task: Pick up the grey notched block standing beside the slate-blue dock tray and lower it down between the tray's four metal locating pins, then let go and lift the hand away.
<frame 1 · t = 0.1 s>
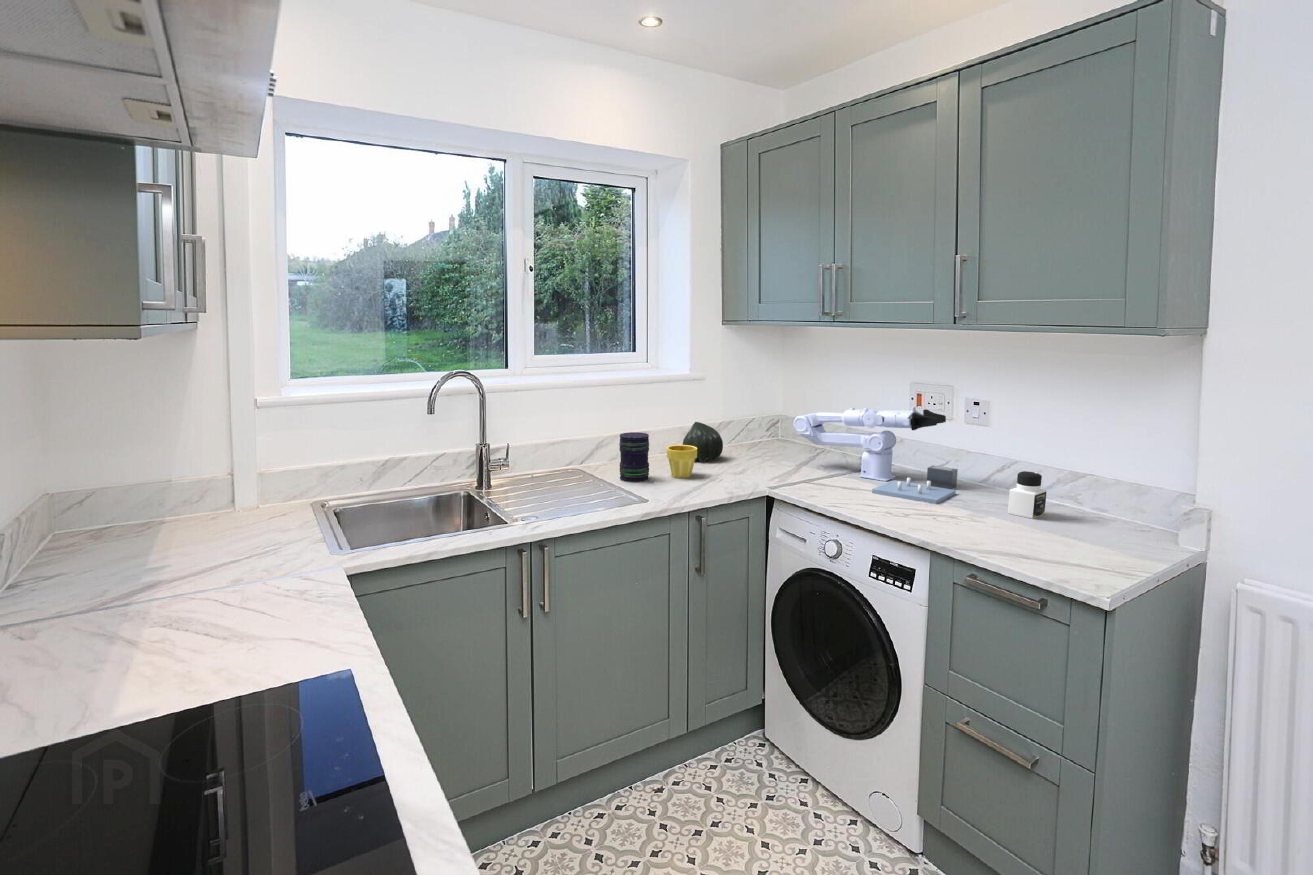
hand: (940, 420, 238), 22 cm above the worktop, tool horizontal, fingers open, 7 cm apart
medicine bottle: (1025, 514, 211), on the worktop
plant pot: (681, 476, 256), on the worktop
storage jar: (634, 479, 252), on the worktop
dock tray: (913, 493, 234), on the worktop
grey notched block: (941, 486, 243), on the worktop
squash: (702, 460, 283), on the worktop
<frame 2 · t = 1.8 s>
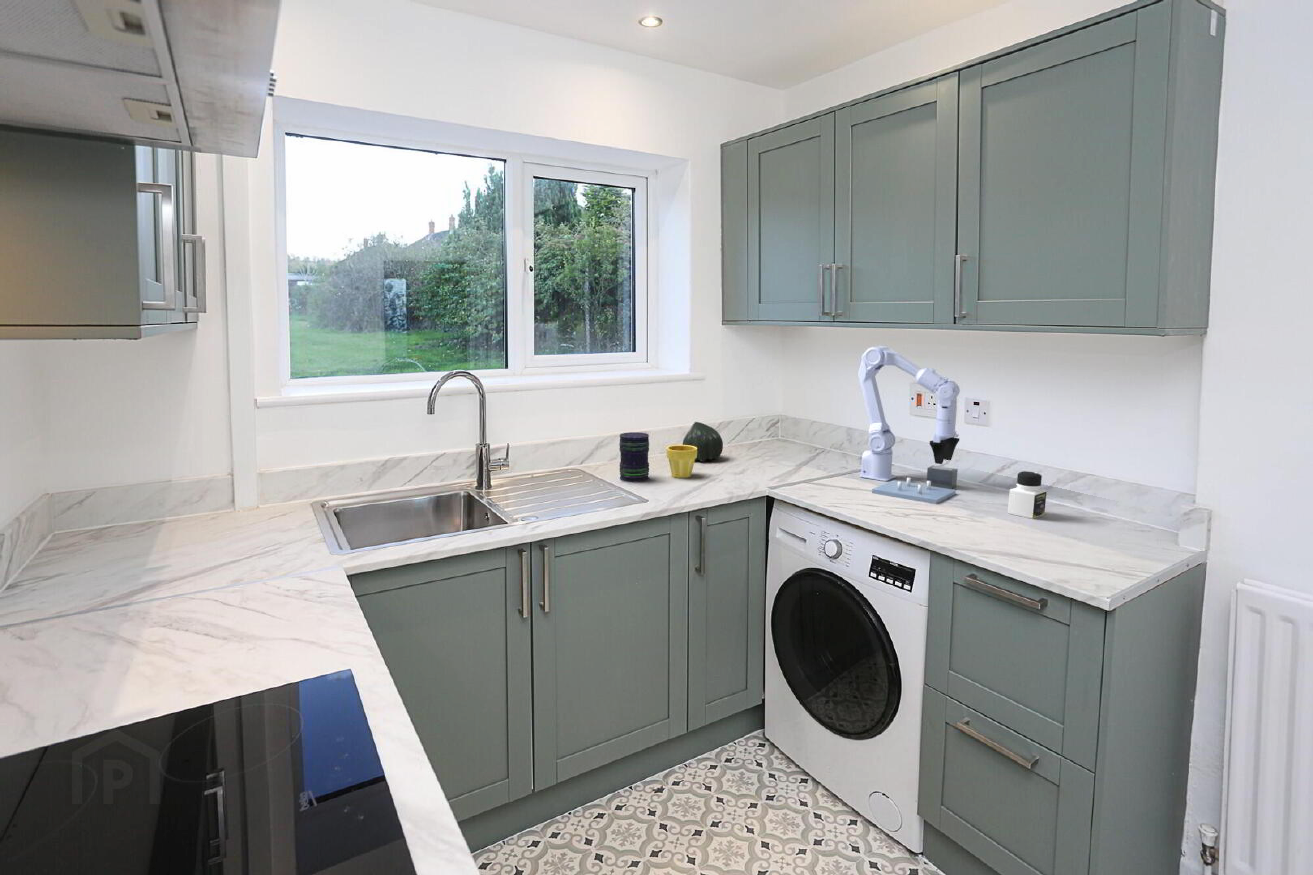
hand: (943, 461, 242), 8 cm above the worktop, tool pointing down, fingers open, 7 cm apart
nothing on the worktop moved.
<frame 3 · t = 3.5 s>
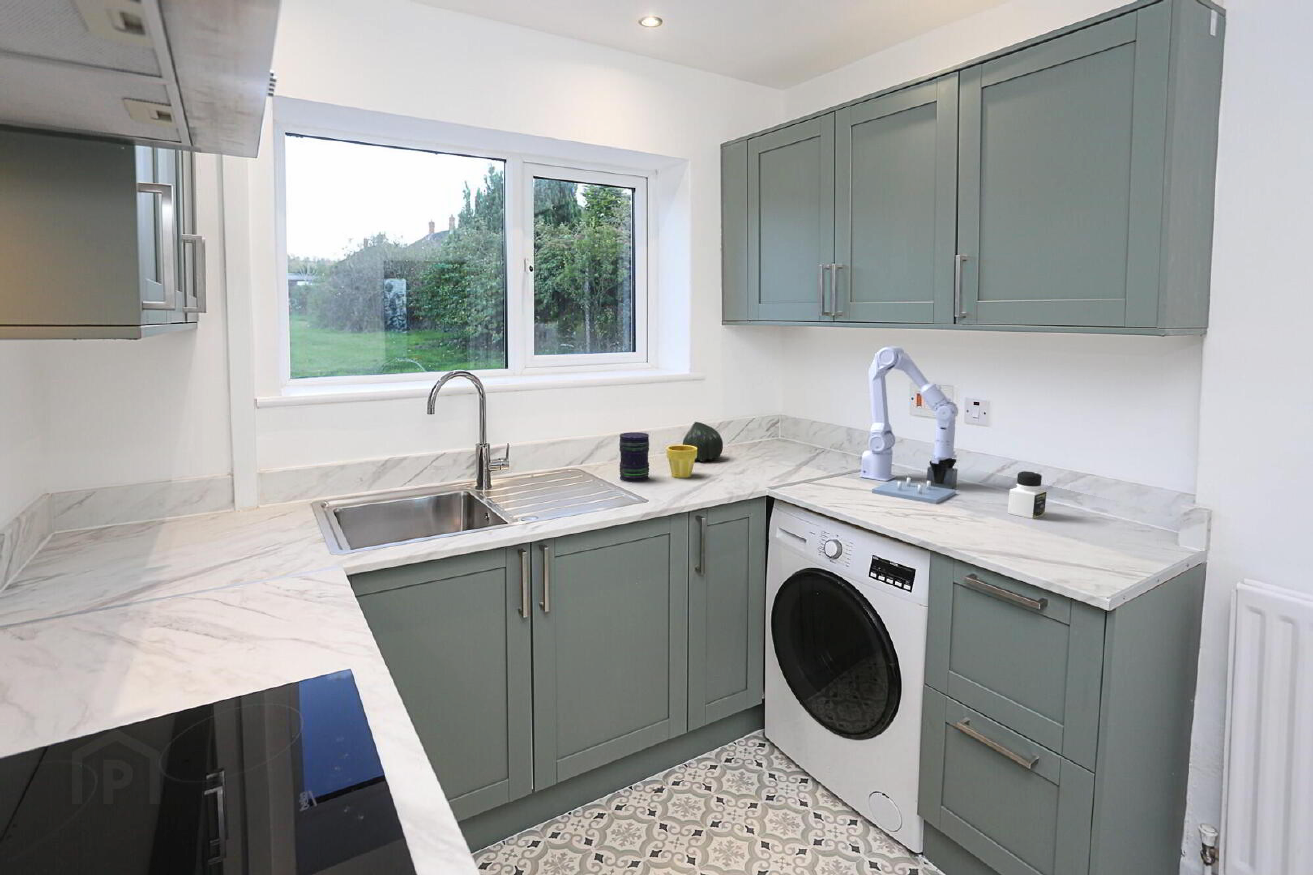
hand: (941, 482, 243), 1 cm above the worktop, tool pointing down, fingers closed on grey notched block, 4 cm apart
grey notched block: (941, 486, 243), on the worktop, touching gripper
everything else where it was.
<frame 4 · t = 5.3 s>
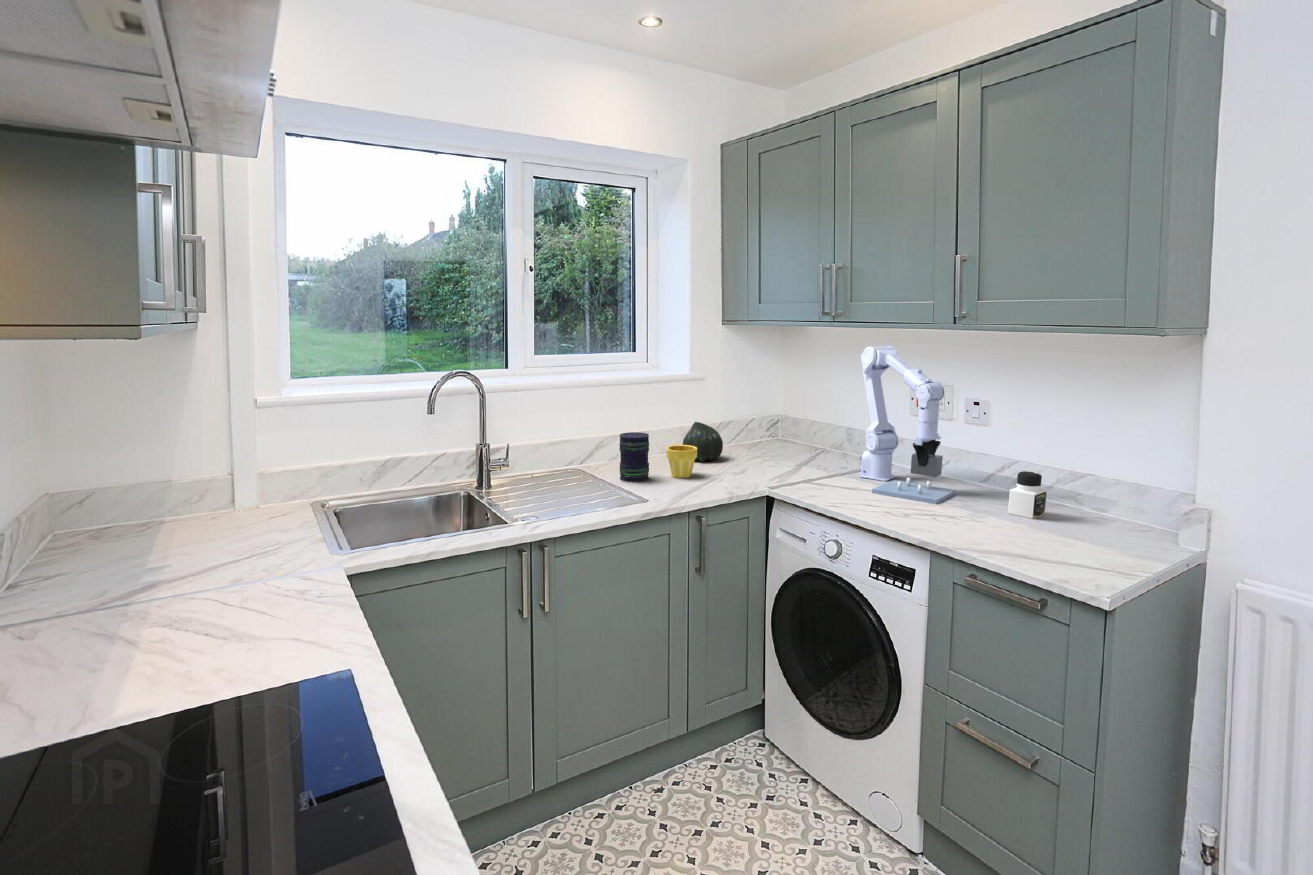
hand: (925, 464, 235), 8 cm above the worktop, tool pointing down, fingers closed on grey notched block, 4 cm apart
grey notched block: (925, 473, 236), point 6 cm above the worktop, touching gripper
everything else where it was.
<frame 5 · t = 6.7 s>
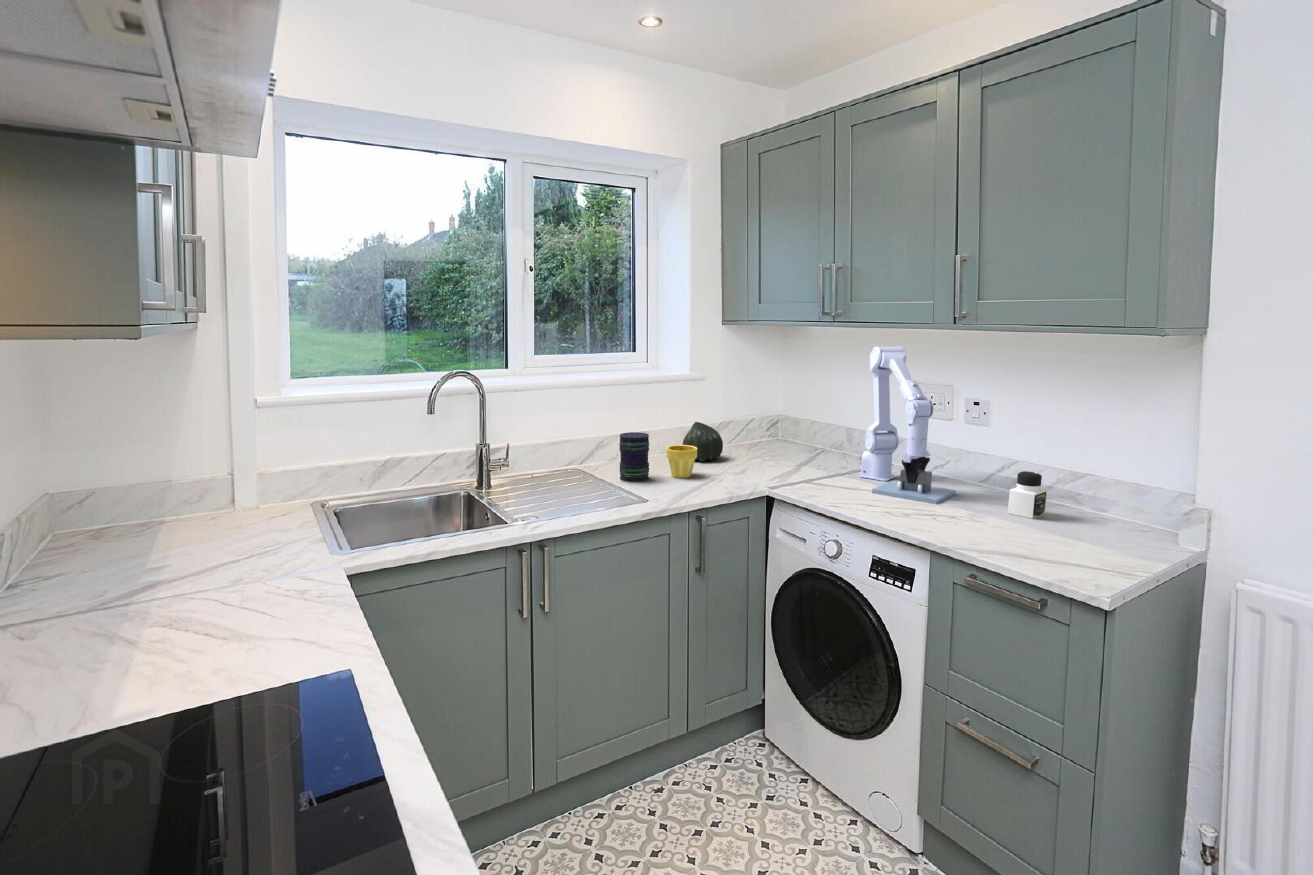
hand: (914, 481, 233), 4 cm above the worktop, tool pointing down, fingers closed on grey notched block, 4 cm apart
grey notched block: (915, 489, 233), point 1 cm above the worktop, touching dock tray, gripper
everything else where it was.
when the fingers open (4 cm above the worktop, at t = 7.4 s): grey notched block stays where it is, resting on dock tray.
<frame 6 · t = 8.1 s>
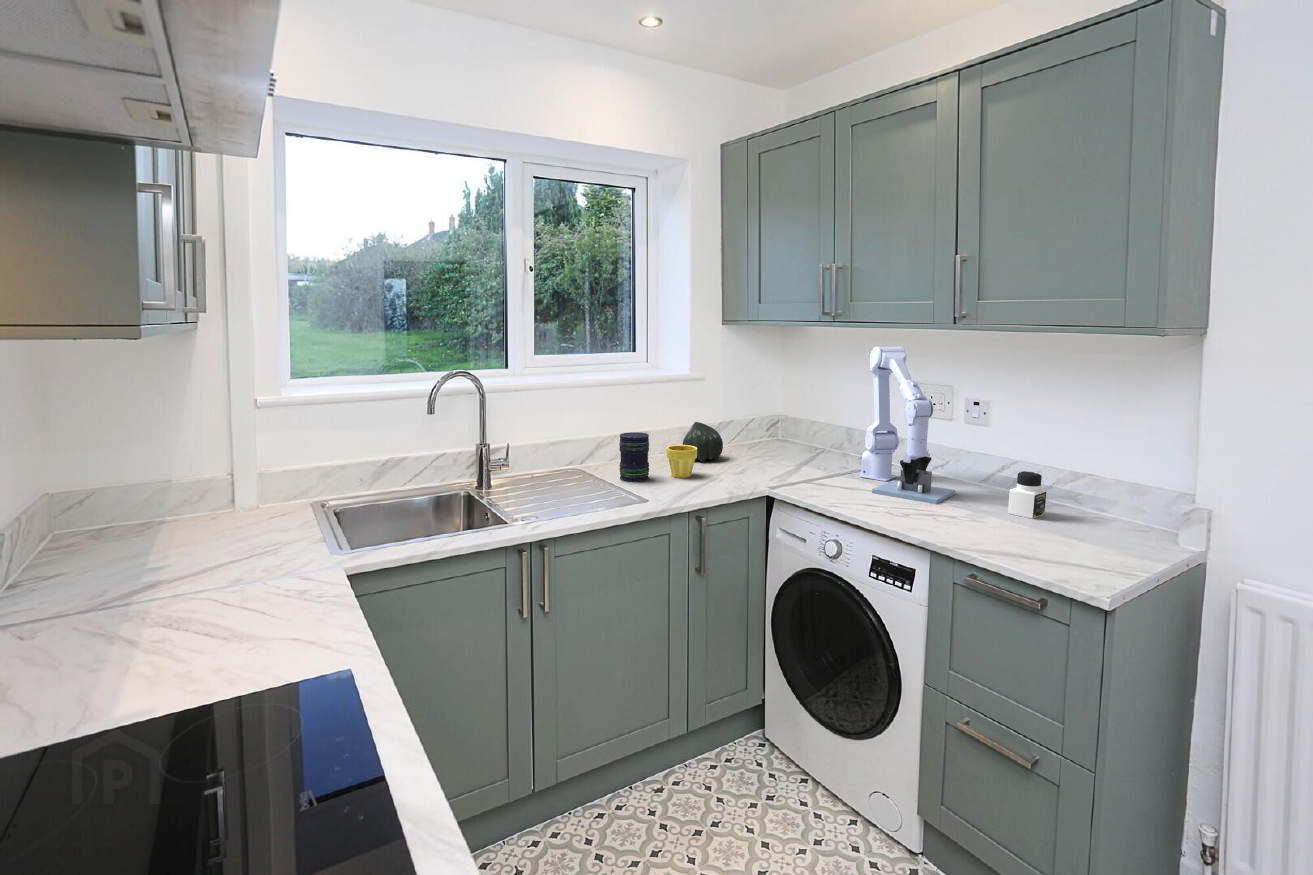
hand: (914, 481, 233), 4 cm above the worktop, tool pointing down, fingers open, 7 cm apart
grey notched block: (915, 489, 233), point 1 cm above the worktop, touching dock tray
everything else where it was.
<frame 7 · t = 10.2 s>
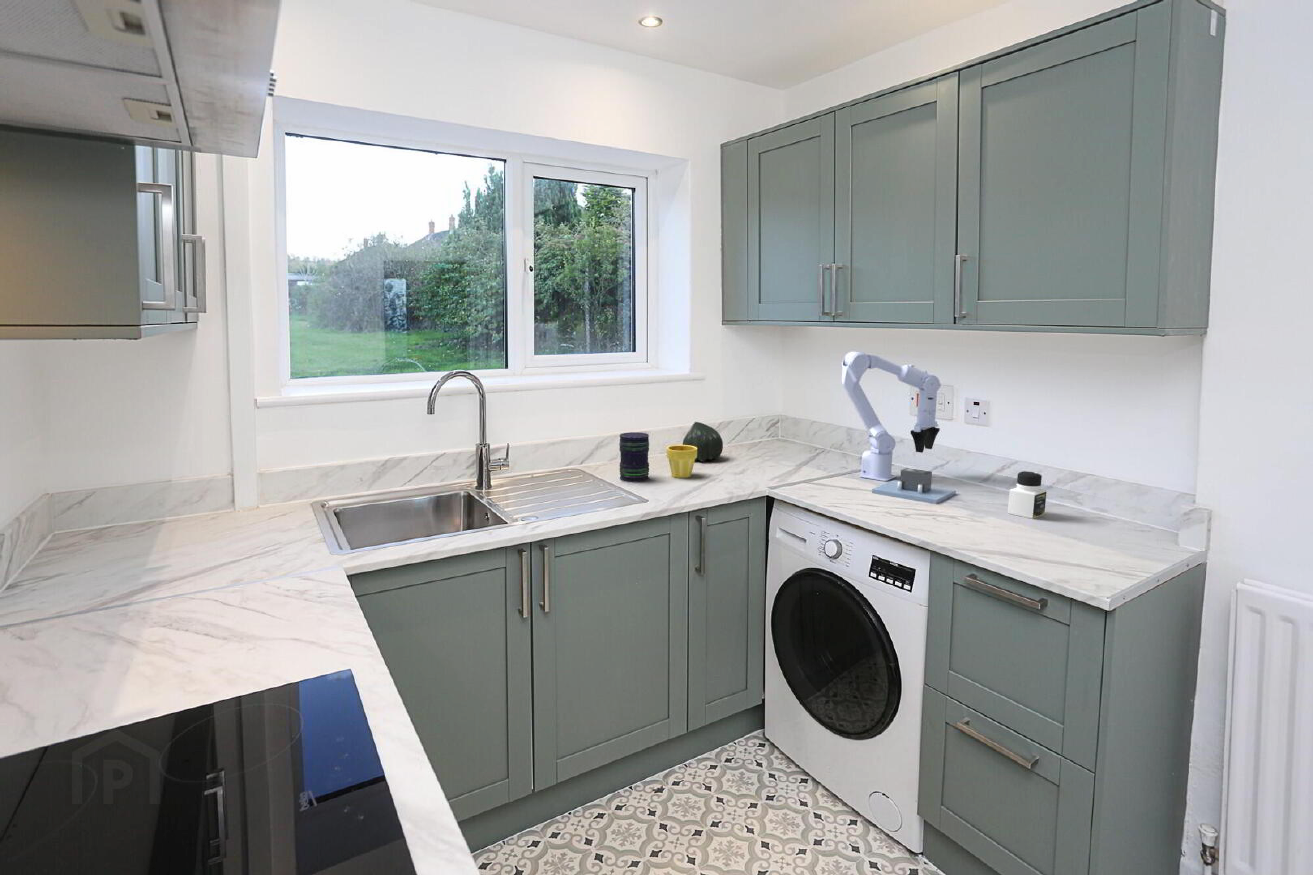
hand: (924, 450, 253), 9 cm above the worktop, tool pointing down, fingers open, 7 cm apart
nothing on the worktop moved.
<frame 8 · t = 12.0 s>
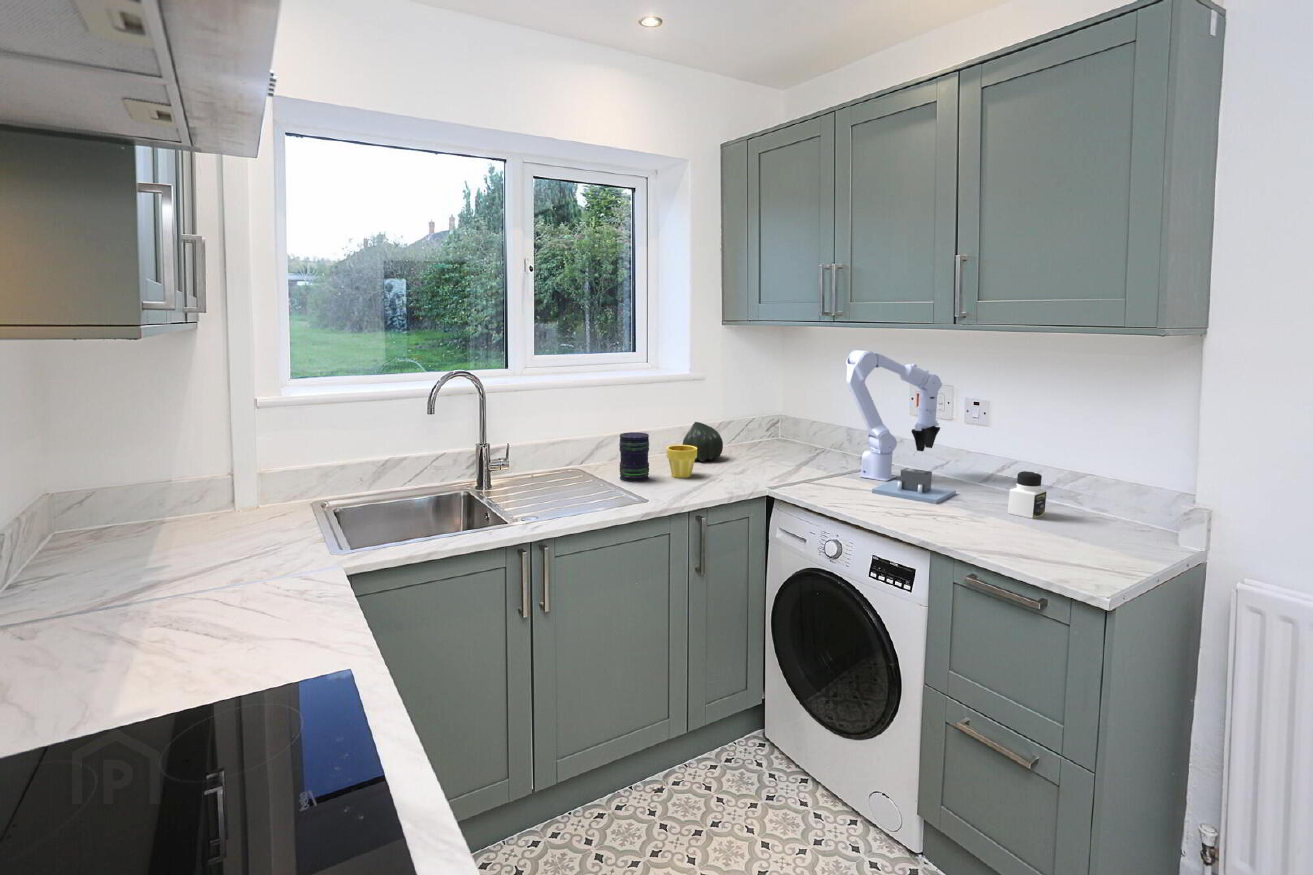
hand: (924, 449, 255), 9 cm above the worktop, tool pointing down, fingers open, 7 cm apart
nothing on the worktop moved.
at the end: grey notched block 0.4 cm off-centre on the dock tray, point 1.2 cm above the dock tray's base; grey notched block tilted 0°; the gripper is holding nothing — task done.
